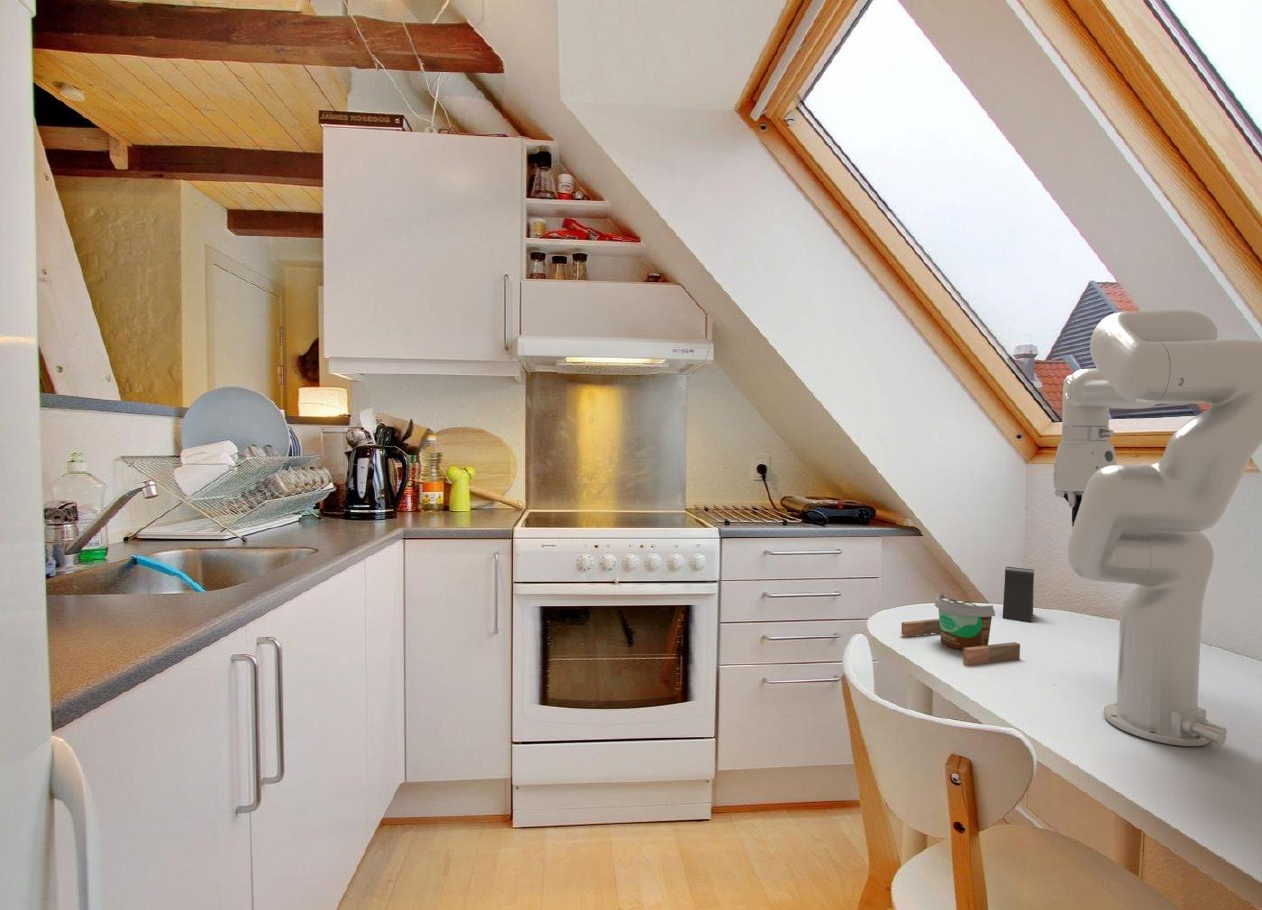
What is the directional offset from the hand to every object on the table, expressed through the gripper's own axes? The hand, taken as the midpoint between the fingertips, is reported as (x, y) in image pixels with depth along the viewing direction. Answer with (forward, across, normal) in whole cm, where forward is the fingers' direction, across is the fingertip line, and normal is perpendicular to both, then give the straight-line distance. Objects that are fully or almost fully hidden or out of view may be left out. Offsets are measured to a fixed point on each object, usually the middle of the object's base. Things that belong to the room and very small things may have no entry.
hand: (1081, 527), depth 125 cm
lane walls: (+26, +13, +17) cm, 34 cm away
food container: (+27, +13, +18) cm, 35 cm away
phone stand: (+26, +26, -16) cm, 40 cm away
